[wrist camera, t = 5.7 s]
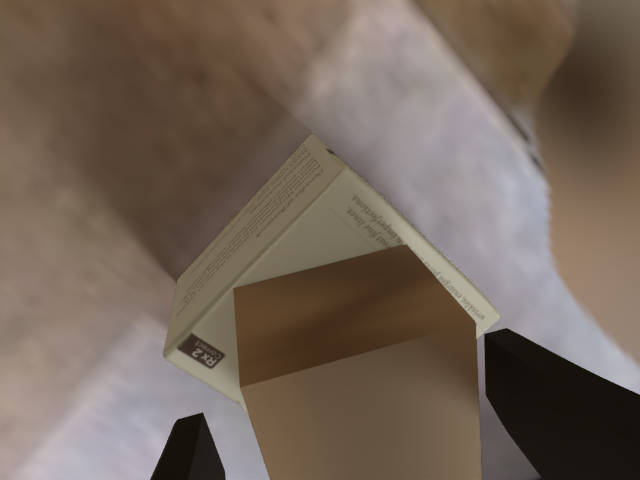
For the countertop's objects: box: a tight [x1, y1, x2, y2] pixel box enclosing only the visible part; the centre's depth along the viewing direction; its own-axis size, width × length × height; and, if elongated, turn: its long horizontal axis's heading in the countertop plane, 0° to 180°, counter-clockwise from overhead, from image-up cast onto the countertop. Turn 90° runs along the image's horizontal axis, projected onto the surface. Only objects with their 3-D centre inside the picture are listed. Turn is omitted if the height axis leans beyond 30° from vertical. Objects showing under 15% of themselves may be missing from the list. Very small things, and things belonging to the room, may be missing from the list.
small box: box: [163, 134, 500, 413], centre depth 17 cm, size 8×8×5 cm
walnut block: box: [233, 244, 482, 480], centre depth 12 cm, size 5×5×4 cm
